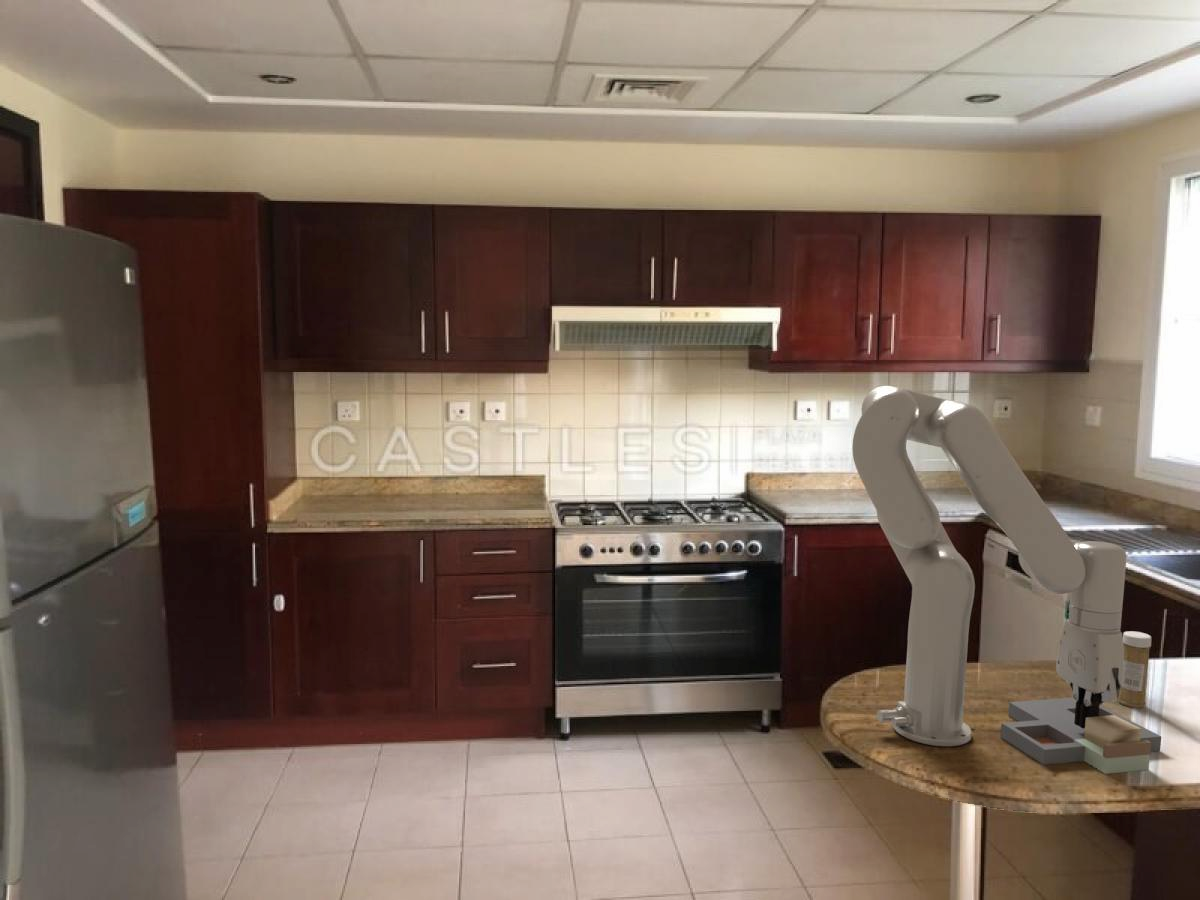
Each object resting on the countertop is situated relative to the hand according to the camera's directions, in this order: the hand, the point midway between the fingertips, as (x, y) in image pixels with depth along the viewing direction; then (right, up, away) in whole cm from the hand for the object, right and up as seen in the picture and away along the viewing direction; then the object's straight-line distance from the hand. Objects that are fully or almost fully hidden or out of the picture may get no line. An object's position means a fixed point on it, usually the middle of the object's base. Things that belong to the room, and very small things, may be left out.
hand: (1085, 725), depth 152 cm
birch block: (+2, -2, -4) cm, 5 cm away
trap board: (-1, -3, +2) cm, 4 cm away
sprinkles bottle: (+19, -2, +20) cm, 28 cm away
